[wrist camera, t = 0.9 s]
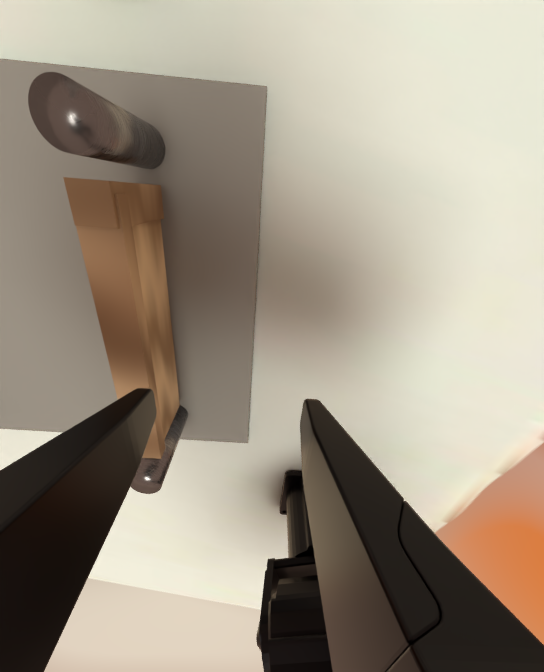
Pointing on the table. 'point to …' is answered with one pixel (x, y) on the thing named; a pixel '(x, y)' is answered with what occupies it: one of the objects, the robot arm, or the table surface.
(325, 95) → the table surface
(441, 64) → the table surface
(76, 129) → the gate posts
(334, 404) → the table surface
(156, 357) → the gate
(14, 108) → the mat
